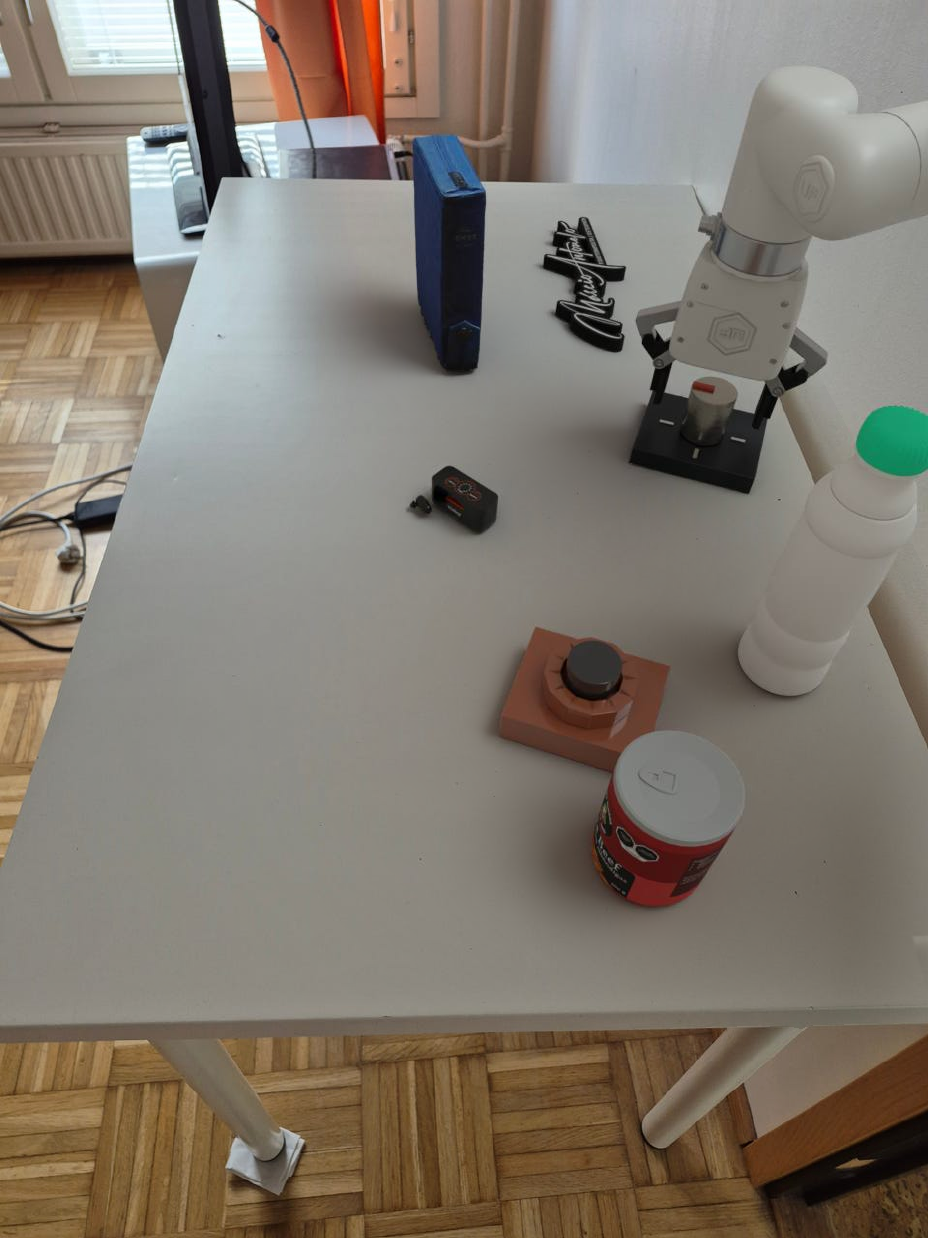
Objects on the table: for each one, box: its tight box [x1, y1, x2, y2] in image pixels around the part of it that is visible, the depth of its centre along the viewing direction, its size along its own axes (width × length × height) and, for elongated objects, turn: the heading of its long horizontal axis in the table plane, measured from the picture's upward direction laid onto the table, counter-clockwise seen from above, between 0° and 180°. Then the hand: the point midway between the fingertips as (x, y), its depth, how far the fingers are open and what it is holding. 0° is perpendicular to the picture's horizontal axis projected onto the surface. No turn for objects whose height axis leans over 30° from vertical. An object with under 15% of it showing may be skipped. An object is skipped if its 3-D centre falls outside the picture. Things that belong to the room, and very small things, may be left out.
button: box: [564, 641, 622, 700], centre depth 65 cm, size 4×4×2 cm
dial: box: [680, 376, 739, 446], centre depth 86 cm, size 4×4×5 cm
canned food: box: [590, 729, 746, 908], centre depth 58 cm, size 8×8×11 cm
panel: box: [628, 390, 769, 494], centre depth 89 cm, size 12×10×2 cm
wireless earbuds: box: [409, 465, 499, 533], centre depth 81 cm, size 5×7×3 cm, turn 49°
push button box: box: [498, 626, 671, 773], centre depth 68 cm, size 11×9×5 cm
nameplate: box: [542, 216, 627, 353], centre depth 108 cm, size 28×2×10 cm
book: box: [411, 133, 487, 372], centre depth 92 cm, size 14×5×20 cm, turn 14°
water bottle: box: [737, 405, 928, 697], centre depth 63 cm, size 7×7×25 cm
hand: (707, 408), depth 86 cm, fingers open, 9 cm apart
